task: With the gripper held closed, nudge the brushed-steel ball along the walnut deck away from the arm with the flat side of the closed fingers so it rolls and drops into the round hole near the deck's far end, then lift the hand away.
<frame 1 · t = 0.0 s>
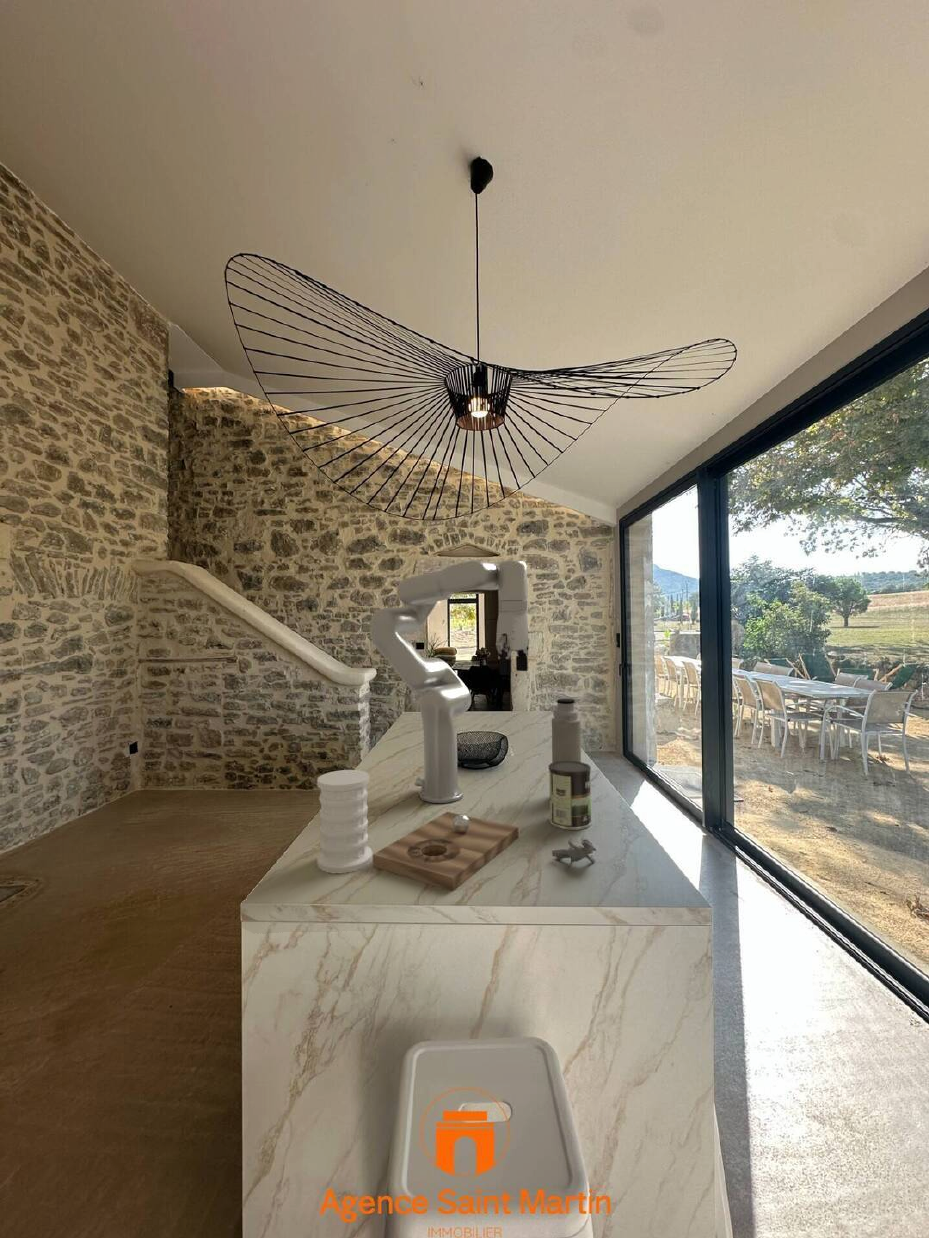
hand: (513, 672, 143), 37 cm above the table, tool pointing down, fingers open, 9 cm apart
thermos bottle: (567, 798, 153), on the table
grey toy figure: (573, 867, 112), on the table
coffee can: (570, 822, 136), on the table
decorative container: (345, 861, 116), on the table
ball: (461, 823, 124), point 4 cm above the table, touching deck
deck: (449, 851, 120), on the table
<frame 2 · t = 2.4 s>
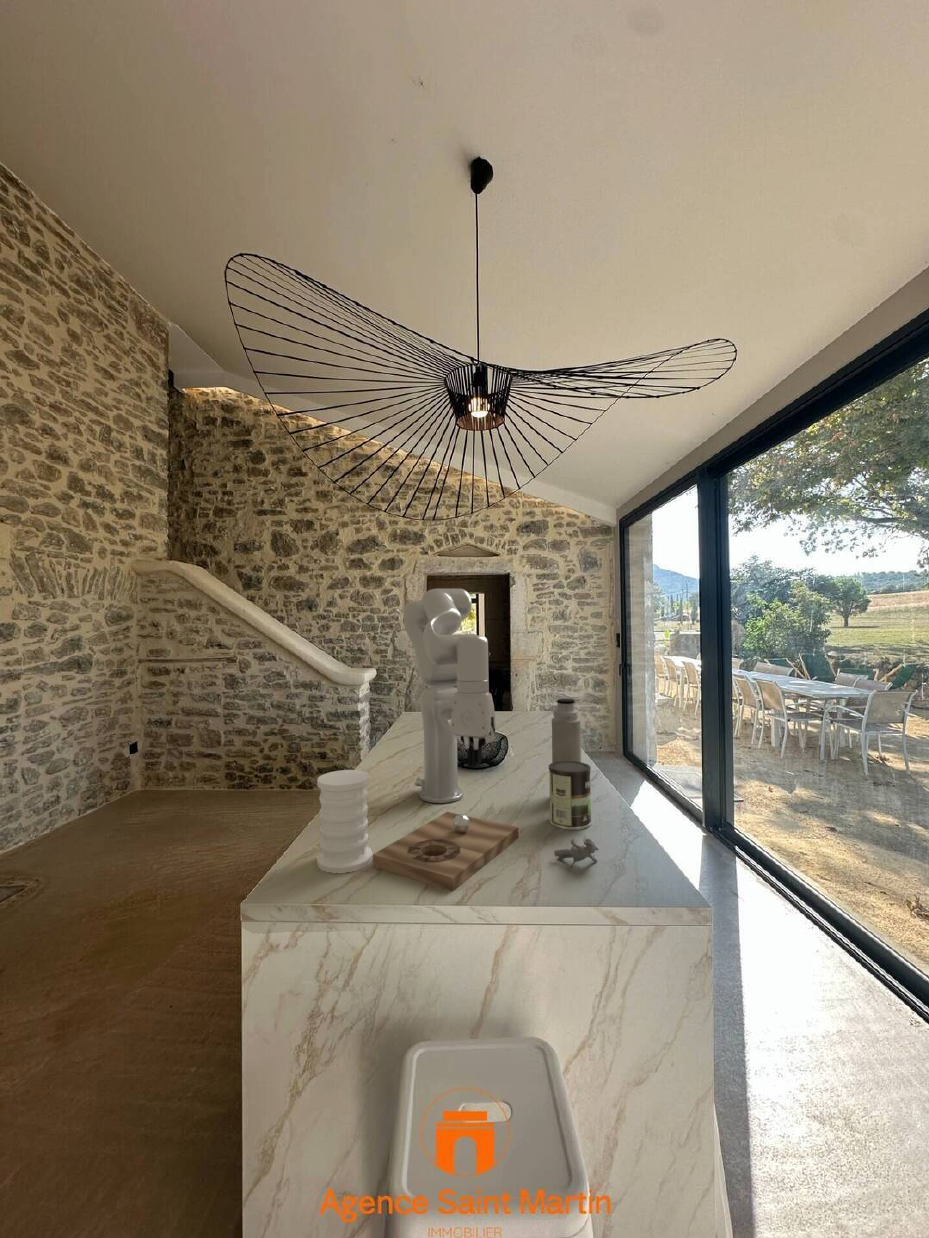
hand: (474, 764, 129), 17 cm above the table, tool pointing down, fingers closed
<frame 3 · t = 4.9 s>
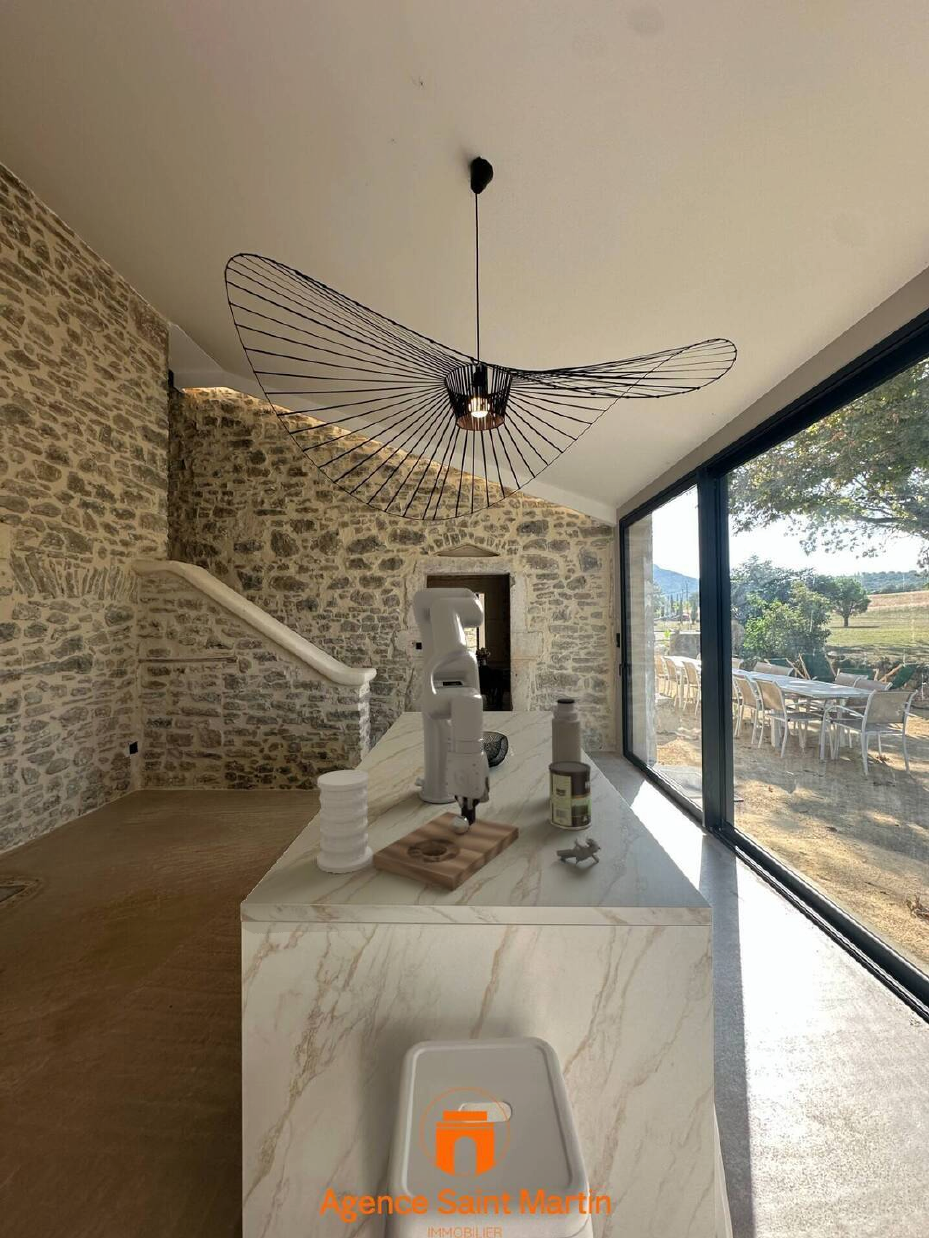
hand: (468, 823, 127), 3 cm above the table, tool pointing down, fingers closed
ball: (460, 824, 124), point 4 cm above the table, tilted 17°, touching deck
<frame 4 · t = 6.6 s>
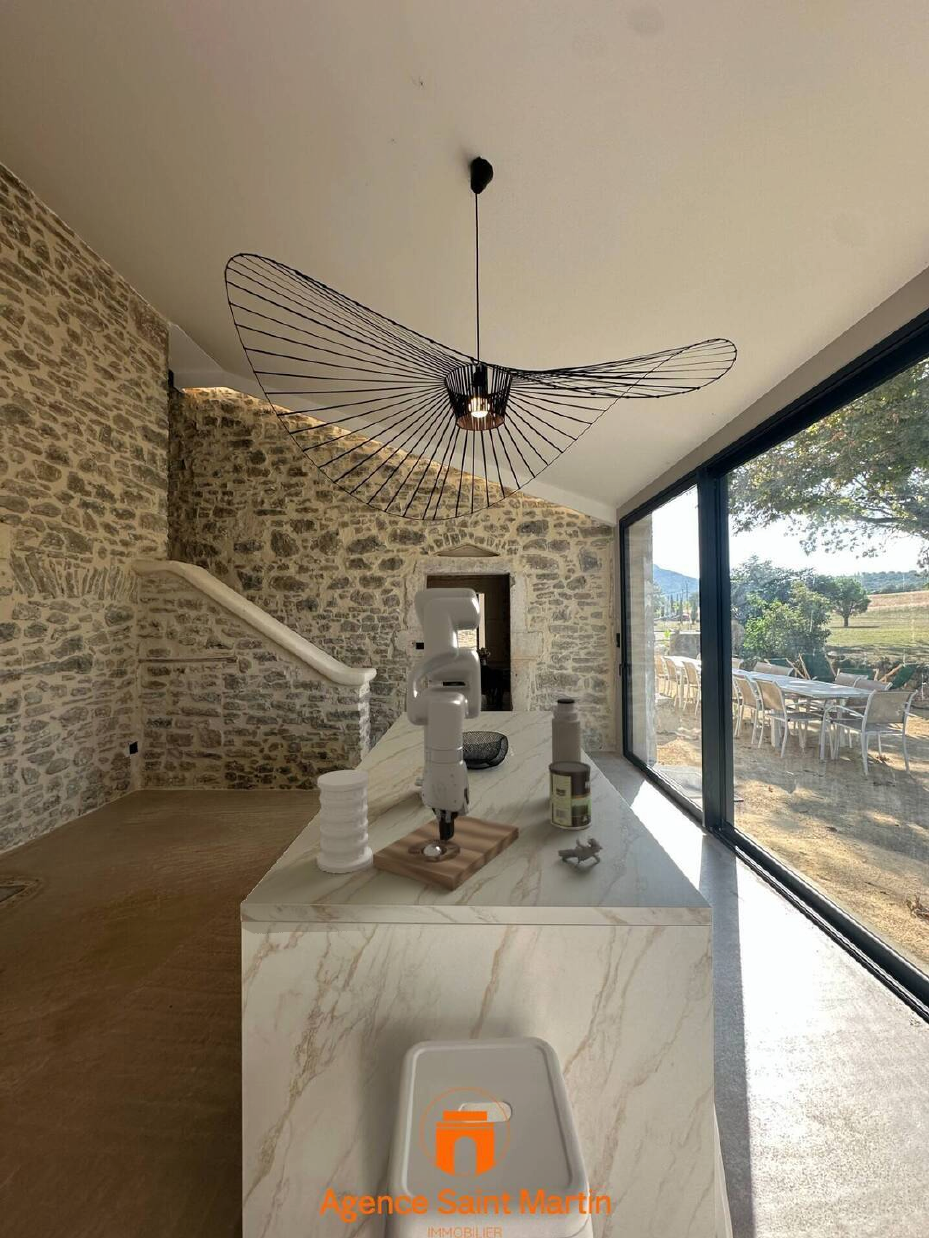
hand: (446, 837, 119), 3 cm above the table, tool pointing down, fingers closed
ball: (432, 854, 114), point 2 cm above the table, tilted 41°
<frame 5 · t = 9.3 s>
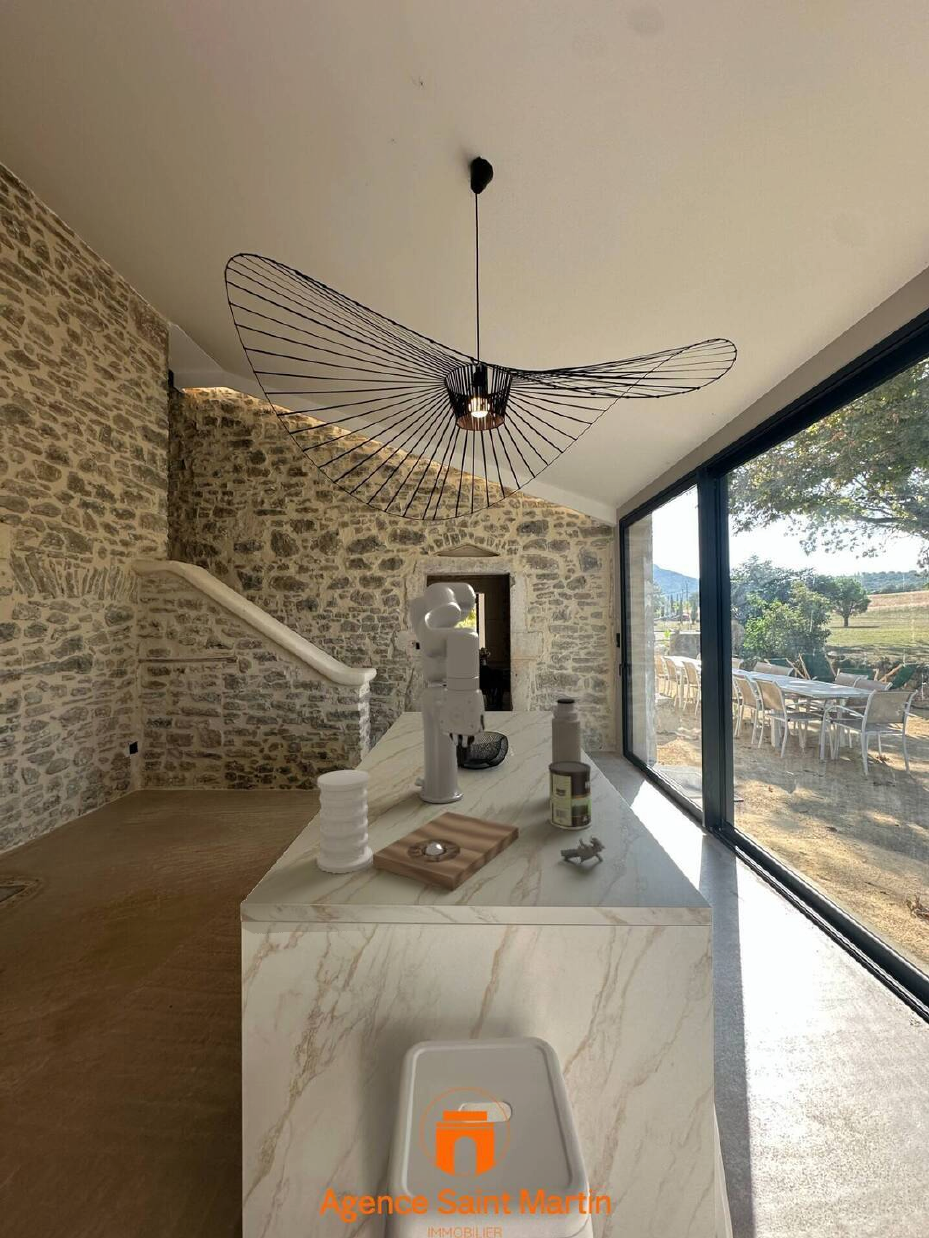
hand: (463, 761, 126), 18 cm above the table, tool pointing down, fingers closed
ball: (434, 852, 115), point 2 cm above the table, tilted 61°
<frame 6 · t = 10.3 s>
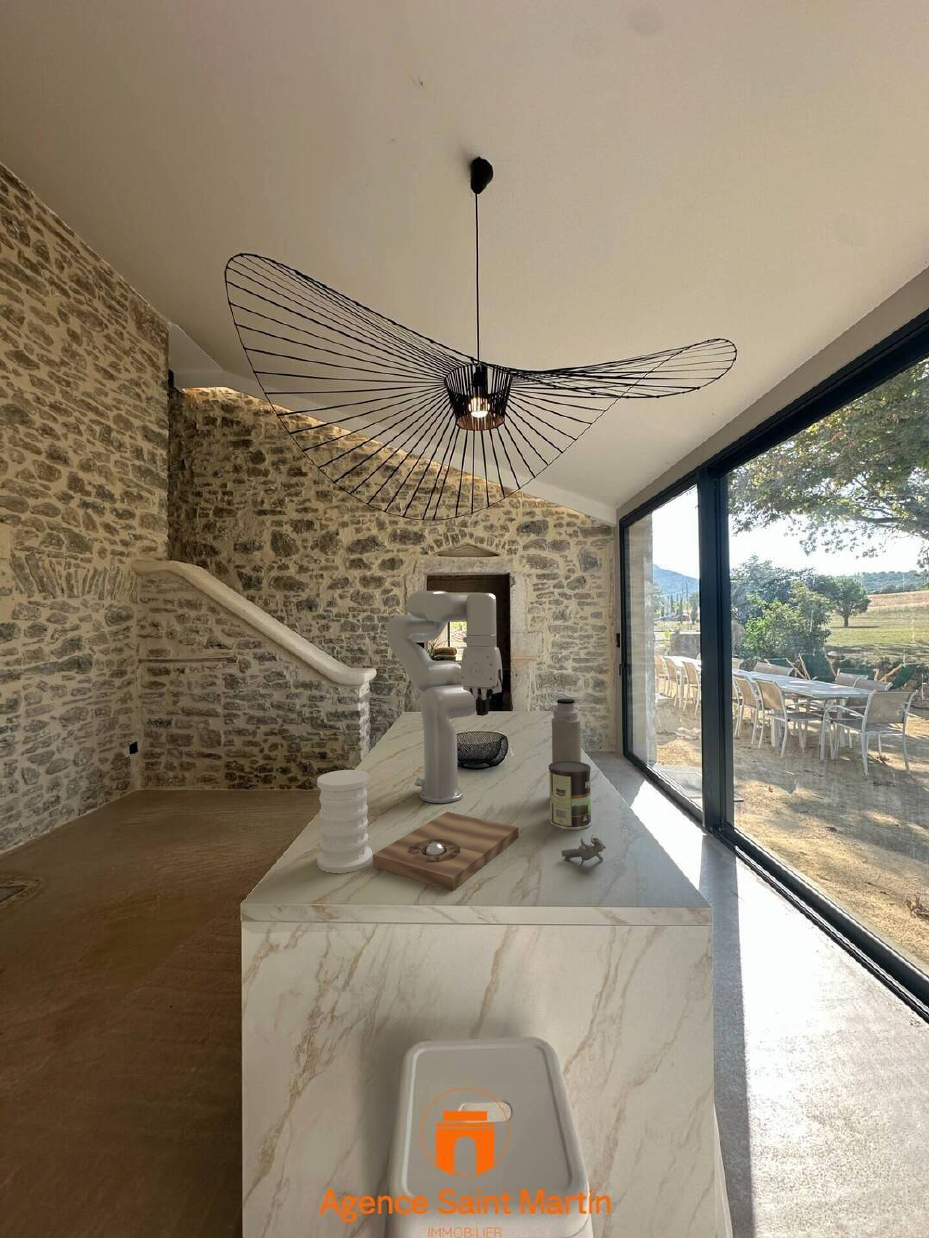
hand: (482, 714, 137), 27 cm above the table, tool pointing down, fingers closed
ball: (435, 852, 115), point 2 cm above the table, tilted 69°
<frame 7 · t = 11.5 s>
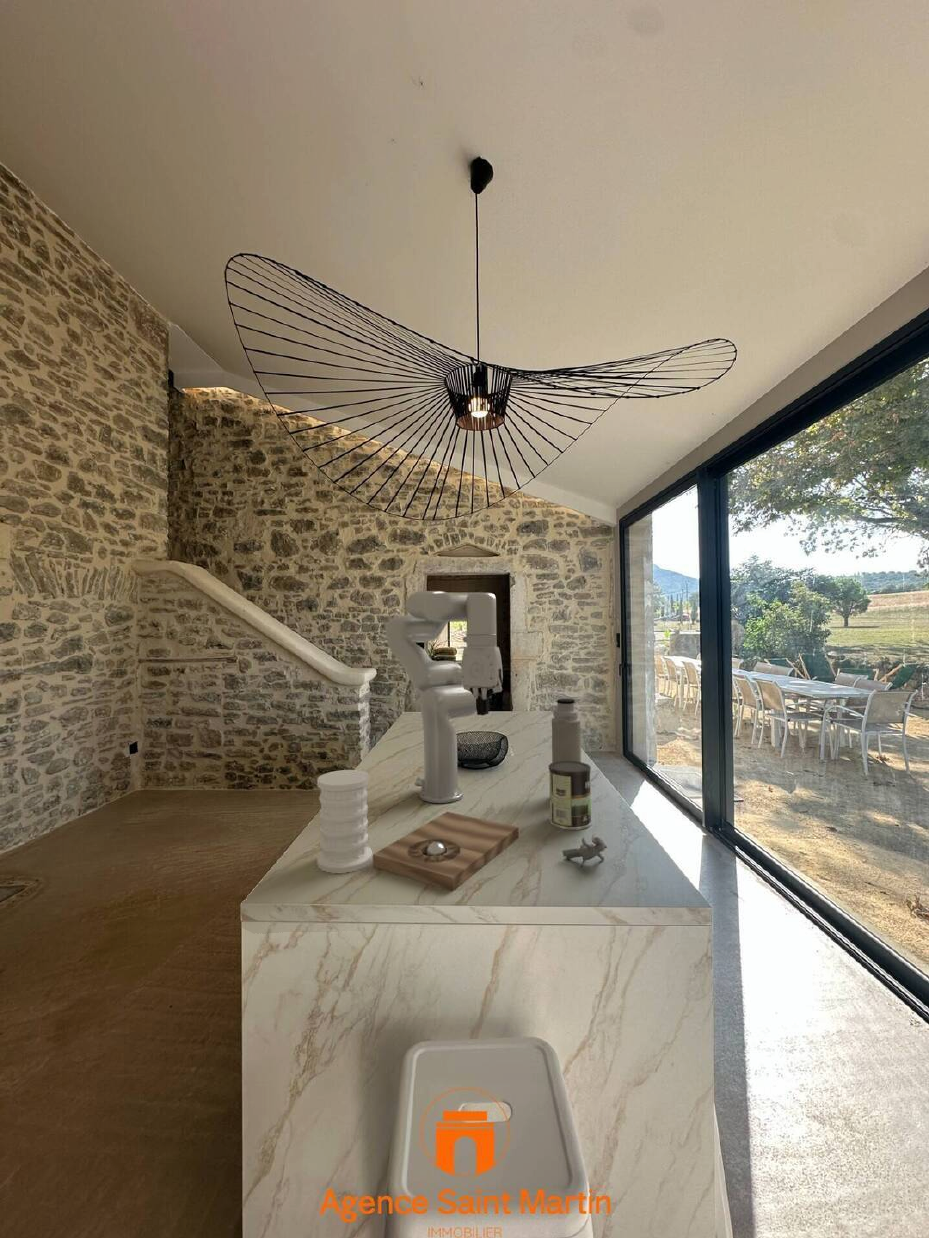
hand: (482, 714, 137), 27 cm above the table, tool pointing down, fingers closed
ball: (436, 851, 115), point 2 cm above the table, tilted 78°
at the end: ball 0.5 cm from the target spot on the deck, point 2.0 cm above the deck's base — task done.
